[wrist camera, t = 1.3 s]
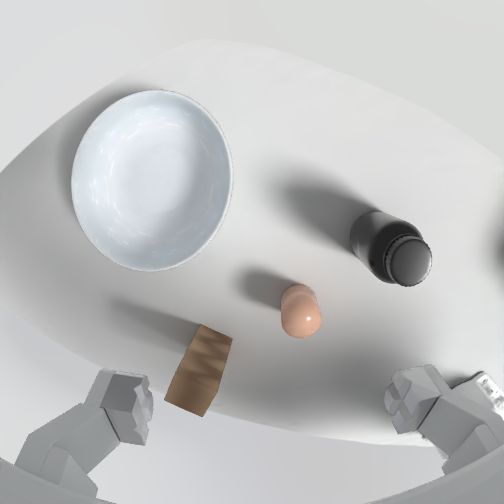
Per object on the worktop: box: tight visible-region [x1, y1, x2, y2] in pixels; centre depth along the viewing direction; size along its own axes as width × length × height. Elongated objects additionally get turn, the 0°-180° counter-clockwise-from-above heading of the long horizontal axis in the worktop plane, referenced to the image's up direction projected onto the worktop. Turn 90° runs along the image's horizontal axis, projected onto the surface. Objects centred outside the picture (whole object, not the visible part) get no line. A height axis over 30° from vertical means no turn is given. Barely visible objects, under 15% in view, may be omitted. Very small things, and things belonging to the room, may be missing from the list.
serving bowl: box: [71, 90, 234, 272], centre depth 33 cm, size 21×21×7 cm
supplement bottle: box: [350, 211, 432, 287], centre depth 30 cm, size 7×7×12 cm
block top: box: [164, 354, 223, 417], centre depth 32 cm, size 5×5×4 cm
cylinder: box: [281, 284, 321, 338], centre depth 36 cm, size 5×5×6 cm
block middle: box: [185, 338, 228, 371], centre depth 36 cm, size 5×5×4 cm
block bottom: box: [194, 325, 232, 353], centre depth 40 cm, size 5×5×4 cm
